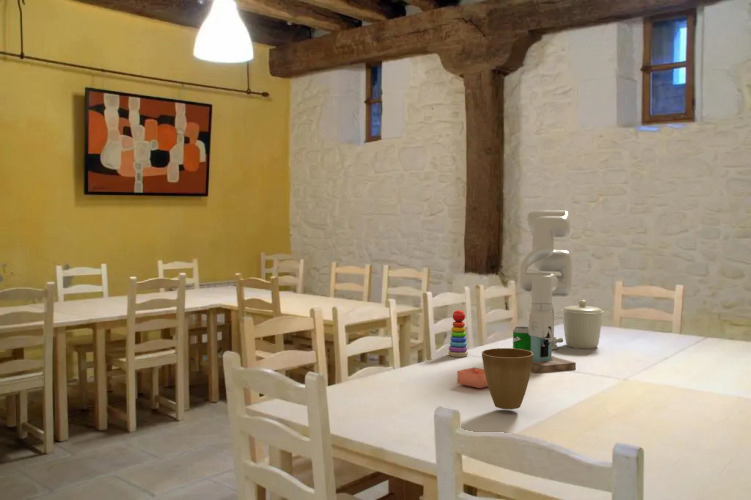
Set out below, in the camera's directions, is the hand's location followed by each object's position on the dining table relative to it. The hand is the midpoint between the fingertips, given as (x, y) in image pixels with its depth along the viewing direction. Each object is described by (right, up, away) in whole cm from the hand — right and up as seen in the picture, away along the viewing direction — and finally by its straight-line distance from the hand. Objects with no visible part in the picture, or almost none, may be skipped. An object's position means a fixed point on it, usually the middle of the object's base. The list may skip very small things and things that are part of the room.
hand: (540, 355), depth 259 cm
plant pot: (-24, -6, -58) cm, 63 cm away
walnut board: (0, -4, 0) cm, 4 cm away
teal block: (0, -3, 0) cm, 3 cm away
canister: (+28, -3, +42) cm, 50 cm away
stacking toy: (-29, -4, +22) cm, 36 cm away
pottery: (-25, -5, -25) cm, 36 cm away
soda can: (-3, -4, +20) cm, 20 cm away
